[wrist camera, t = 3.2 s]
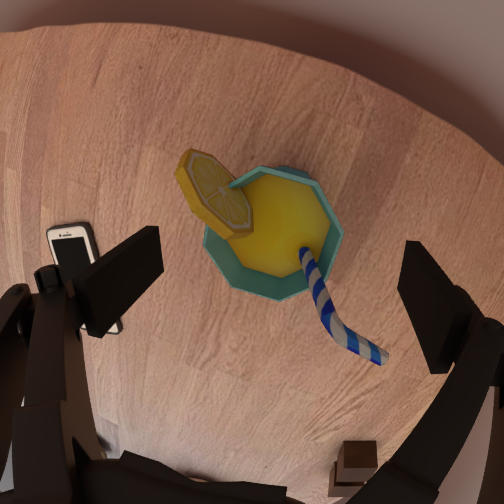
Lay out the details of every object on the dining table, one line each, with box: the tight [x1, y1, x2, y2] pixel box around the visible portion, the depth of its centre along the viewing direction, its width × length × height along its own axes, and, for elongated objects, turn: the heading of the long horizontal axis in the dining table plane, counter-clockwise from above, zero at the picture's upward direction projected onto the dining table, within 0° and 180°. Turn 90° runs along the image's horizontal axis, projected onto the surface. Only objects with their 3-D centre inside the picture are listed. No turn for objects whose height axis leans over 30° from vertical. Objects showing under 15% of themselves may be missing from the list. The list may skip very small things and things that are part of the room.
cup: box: [174, 148, 389, 366], centre depth 19 cm, size 14×8×15 cm, turn 54°
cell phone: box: [46, 222, 122, 335], centre depth 34 cm, size 8×15×1 cm, turn 7°
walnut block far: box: [328, 462, 365, 497], centre depth 38 cm, size 5×5×5 cm
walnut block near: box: [336, 441, 378, 482], centre depth 35 cm, size 5×5×5 cm
